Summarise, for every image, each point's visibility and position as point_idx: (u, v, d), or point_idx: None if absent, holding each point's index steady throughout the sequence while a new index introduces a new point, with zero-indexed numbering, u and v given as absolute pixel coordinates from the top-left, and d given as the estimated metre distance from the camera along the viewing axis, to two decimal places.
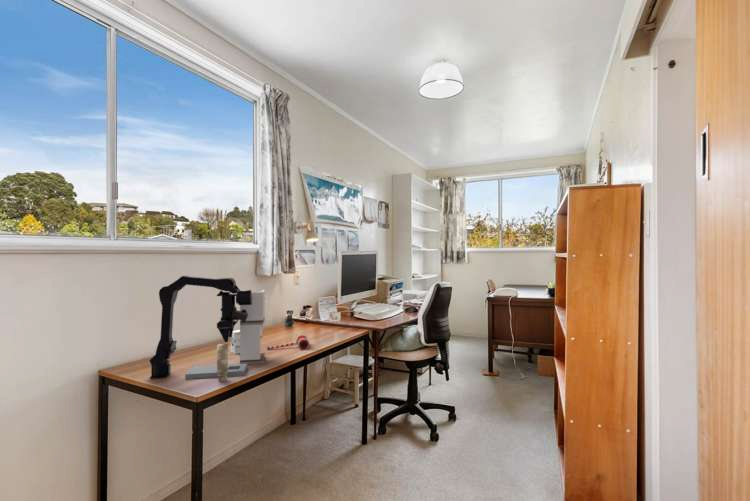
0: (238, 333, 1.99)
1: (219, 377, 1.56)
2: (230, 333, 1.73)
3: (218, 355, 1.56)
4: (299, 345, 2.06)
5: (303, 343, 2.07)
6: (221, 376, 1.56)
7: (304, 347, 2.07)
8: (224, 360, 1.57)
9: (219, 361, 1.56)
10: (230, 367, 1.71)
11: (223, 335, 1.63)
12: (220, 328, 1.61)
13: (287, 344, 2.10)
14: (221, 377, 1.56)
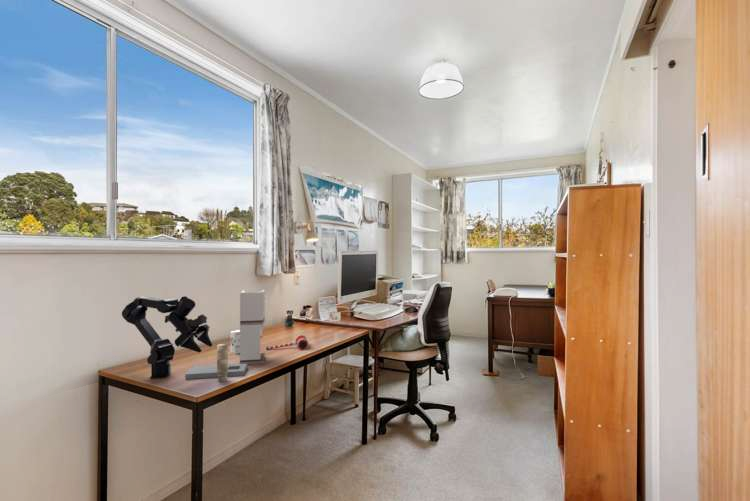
0: (238, 333, 1.99)
1: (219, 377, 1.56)
2: (208, 342, 1.63)
3: (218, 355, 1.56)
4: (298, 345, 2.06)
5: (302, 343, 2.07)
6: (221, 376, 1.56)
7: (303, 347, 2.07)
8: (224, 360, 1.57)
9: (219, 361, 1.56)
10: (230, 367, 1.71)
11: (192, 348, 1.53)
12: (181, 344, 1.51)
13: (286, 344, 2.09)
14: (221, 377, 1.56)
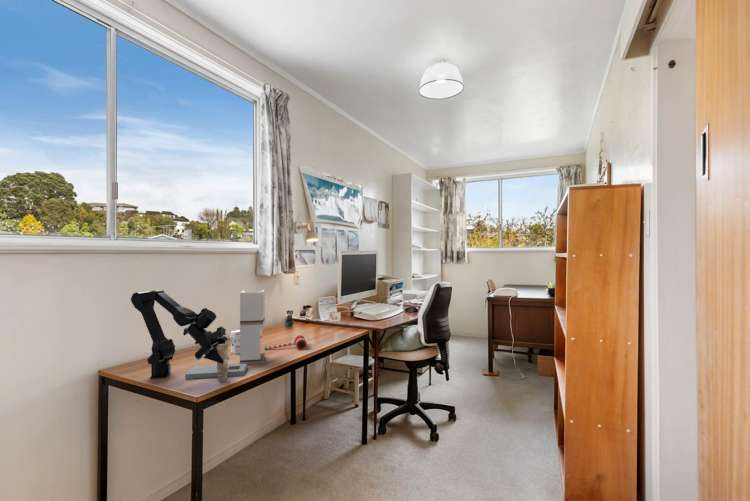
0: (238, 333, 1.99)
1: (219, 377, 1.56)
2: None
3: None
4: (297, 345, 2.06)
5: (301, 343, 2.07)
6: (221, 376, 1.56)
7: (302, 347, 2.07)
8: (224, 360, 1.57)
9: None
10: (230, 367, 1.71)
11: (214, 359, 1.55)
12: (205, 356, 1.53)
13: (285, 344, 2.09)
14: (221, 377, 1.56)
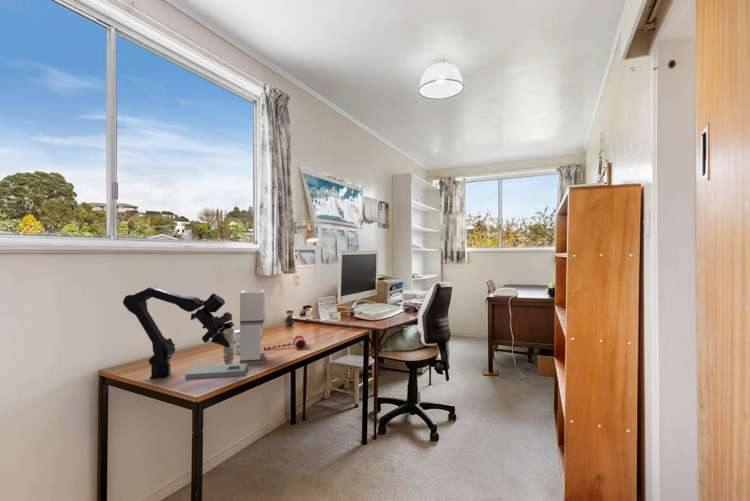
0: (238, 333, 1.99)
1: (225, 360, 1.62)
2: None
3: None
4: (296, 345, 2.06)
5: (300, 343, 2.07)
6: (227, 359, 1.62)
7: (301, 347, 2.07)
8: (230, 344, 1.62)
9: None
10: (230, 367, 1.71)
11: (221, 343, 1.60)
12: (211, 340, 1.58)
13: (284, 344, 2.09)
14: (227, 360, 1.62)
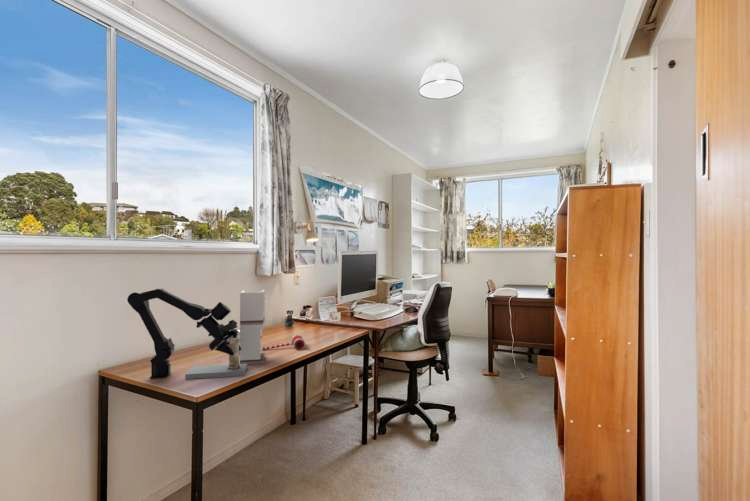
0: (238, 333, 1.99)
1: (231, 369, 1.67)
2: None
3: None
4: (295, 345, 2.06)
5: (299, 343, 2.06)
6: (233, 368, 1.67)
7: (300, 347, 2.07)
8: (236, 353, 1.67)
9: (231, 355, 1.66)
10: None
11: (225, 351, 1.64)
12: (216, 348, 1.61)
13: (283, 344, 2.09)
14: (233, 369, 1.67)
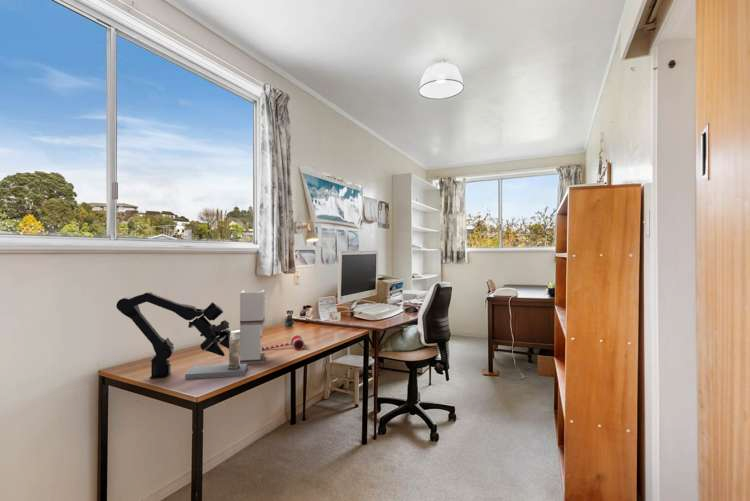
0: (238, 333, 1.99)
1: (231, 369, 1.67)
2: None
3: (230, 348, 1.67)
4: (294, 345, 2.06)
5: (298, 343, 2.06)
6: (233, 368, 1.67)
7: (299, 347, 2.07)
8: (236, 353, 1.67)
9: (231, 354, 1.67)
10: None
11: (216, 352, 1.63)
12: (206, 349, 1.61)
13: (282, 344, 2.09)
14: (233, 369, 1.67)
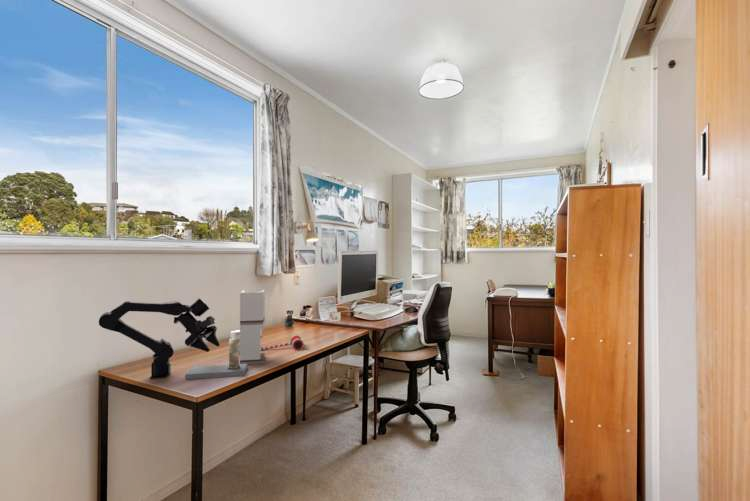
0: (238, 333, 1.99)
1: (231, 369, 1.67)
2: (216, 342, 1.73)
3: (230, 348, 1.67)
4: (293, 345, 2.06)
5: (297, 343, 2.06)
6: (233, 368, 1.67)
7: (298, 347, 2.07)
8: (236, 353, 1.67)
9: (231, 354, 1.67)
10: None
11: (201, 348, 1.63)
12: (191, 344, 1.61)
13: (281, 344, 2.09)
14: (233, 369, 1.67)
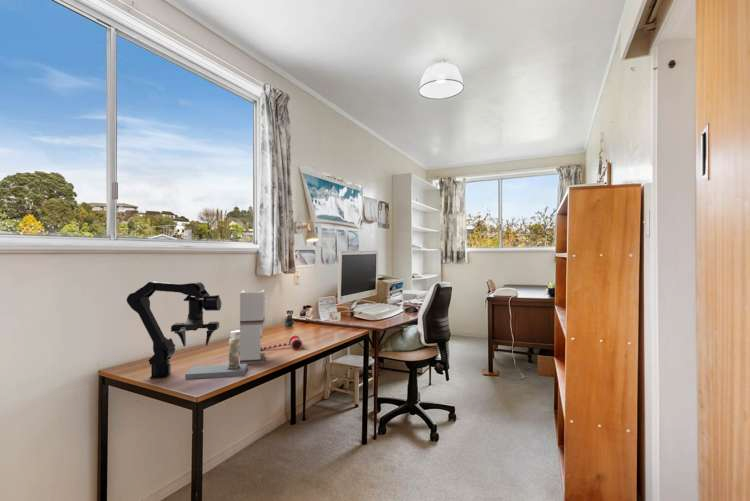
0: (238, 333, 1.99)
1: (231, 369, 1.67)
2: None
3: (230, 348, 1.67)
4: (292, 345, 2.06)
5: (296, 343, 2.06)
6: (233, 368, 1.67)
7: (297, 347, 2.06)
8: (236, 353, 1.67)
9: (230, 354, 1.67)
10: None
11: None
12: None
13: (280, 344, 2.08)
14: (233, 369, 1.67)
